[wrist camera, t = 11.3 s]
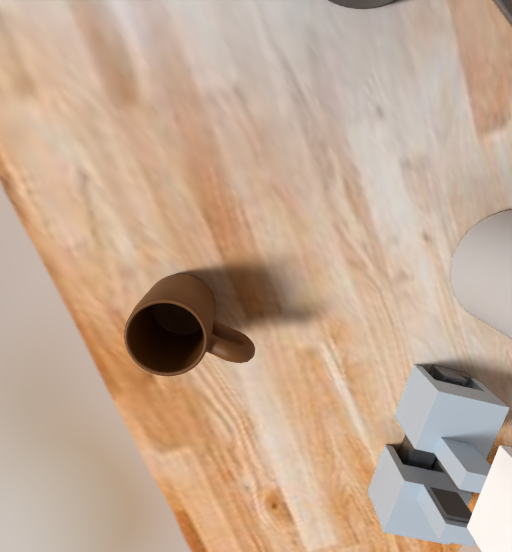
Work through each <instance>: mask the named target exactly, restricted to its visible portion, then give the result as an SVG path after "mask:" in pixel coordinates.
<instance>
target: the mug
mask: <svg viewBox="0 0 512 552" xmlns="http://www.w3.org/2000/svg"><path fill="white" fill-rule="evenodd" d="M215 315H216V303H215V299H214V296H213V294H212V292H211V290H210V289H209V287H208V286H207V285H206V284H205V283H204V282H203V281H201V280H200V279H198V278H196V277H193V276H191V275H186V274H176V275H171V276H168V277H165V278H163V279H162V280H160V281H159V282H157V283H156V284H155V285H154V286H153V287H152V288H151V290H150V291H149V292H148V293H147V294H146V295H145V296H144V297H143V298H142V300H141V301H140V302H139V303H138V304H137V306H136V307H135V308H134V310H133V312H132V314H131V315H130V317H129V319H128V321H127V323H126V326H125V331H124V339H125V344H126V348H127V350H128V353H129V354H130V356H131V358H132V359H133V360H134V361H135V362H136V363H137V364H138V365H139V366H140V367H141V368H143V369H144V370H146V371H148V372H150V373H153V374H156V375H160V376H175V375H179V374H183V373H185V372H187V371H189V370H191V369H192V368H194V367H195V366H196V365H197V364H198V363H199V362H200V361H201V360H202V358H203V356H204V355H205V353H206V352H209V353H211V354H213V355H215V356H217V357H219V358H222V359H224V360H226V361H230V362H235V363H243V362H248V361H249V360H250V359H251V358H253V356H254V353H255V347H254V344H253V342H252V341H251V340H250V339H249V338H248V337H247V336H246V335H244V334H243V333H241V332H239V331H237V330H234V329H232V328H228V327H226V326H223V325H221V324H220V323H218V322H217V321H216V320H215Z"/></svg>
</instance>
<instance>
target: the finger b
mask: <svg viewBox="0 0 512 552" xmlns="http://www.w3.org/2000/svg"><path fill="white" fill-rule="evenodd" d="M509 409H510V407H508V406H507V405H506V404H505V403H504V402H503V401H502V400H500V399H499V398H498V397H497V396H496V395H495V394H493V393H492V392H491V391H490V390H489V389H488V388H486V387H485V386H484V385H483V384H482V383H481V382H480V381H478V380H477V379H474V378H471V381H470V383H469V385H468V387H463V386H459V385H455V384H451V383H446V382H442V381H438V380H434V378H433V377H432V376H431V375H430V374H429V373H428V372H427V371H426V370H425V369H424V368H423V367H422V366H419V365H415V364H414V366H413V368H412V371H411V373H410V376H409V379H408V381H407V384H406V386H405V389H404V391H403V394H402V397H401V399H400V402H399V404H398V407H397V410H396V412H395V415H394V417H395V418H396V420H397V421H398V423H399V424H400V426H401V428H402V429H403V431H404V432H405V434H406V436H407V437H408V439H409V440H410V442H411V444H412V445H413V447H414V448H415V449H417V450H422V451H426V452H431V453H434V454H435V455H436V457H437V458H438V459H439V461H438V464H439V465H440V467H441V468H442V470H443V471H444V473H445V474H446V475H447V477H448V478H449V480H450V481H451V483H452V484H453V486H454V487H455V489H458V490H463V491H468V492H472V493H477V494H480V493H481V491H482V488H483V486H484V483H485V481H486V478H487V476H488V473H489V471H490V468H491V465H490V464H489V463H488V462H487V461H486V459H487V457H488V454H489V452H490V450H491V448H492V446H493V443H494V441H495V439H496V437H497V435H498V433H499V430H500V428H501V426H502V424H503V422H504V420H505V417H506V415H507V413H508V411H509Z"/></svg>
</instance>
